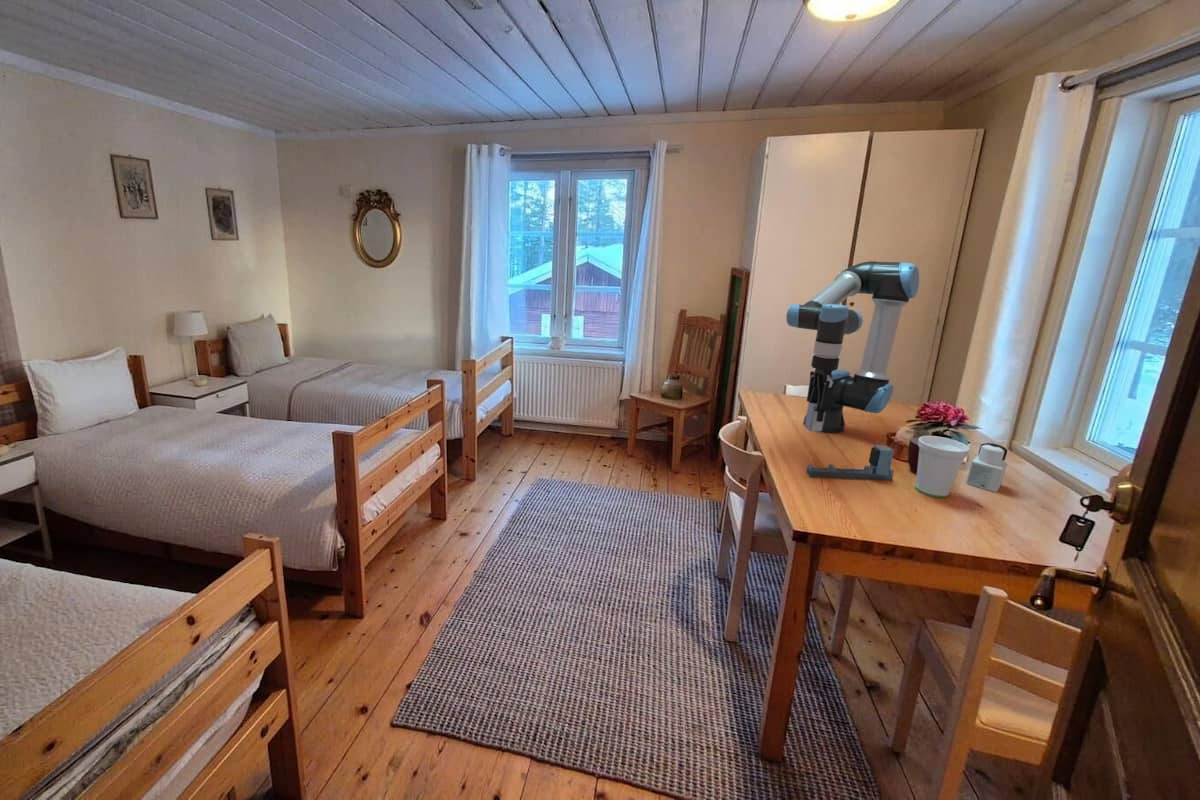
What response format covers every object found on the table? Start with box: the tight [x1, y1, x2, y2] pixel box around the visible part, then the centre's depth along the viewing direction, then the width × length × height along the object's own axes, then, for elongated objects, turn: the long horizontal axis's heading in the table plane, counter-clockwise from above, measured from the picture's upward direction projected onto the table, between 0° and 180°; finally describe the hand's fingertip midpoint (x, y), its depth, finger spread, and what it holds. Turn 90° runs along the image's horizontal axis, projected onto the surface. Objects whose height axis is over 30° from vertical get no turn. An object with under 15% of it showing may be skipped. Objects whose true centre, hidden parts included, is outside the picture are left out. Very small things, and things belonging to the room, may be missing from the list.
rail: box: [805, 444, 895, 481], centre depth 156 cm, size 4×26×10 cm, turn 90°
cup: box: [914, 435, 970, 499], centre depth 148 cm, size 12×12×15 cm
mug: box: [907, 437, 920, 474], centre depth 161 cm, size 10×8×10 cm
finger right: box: [804, 402, 828, 432], centre depth 160 cm, size 4×5×8 cm
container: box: [966, 442, 1008, 493], centre depth 154 cm, size 8×8×13 cm
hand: (813, 427), depth 161 cm, fingers closed on finger right, 4 cm apart
